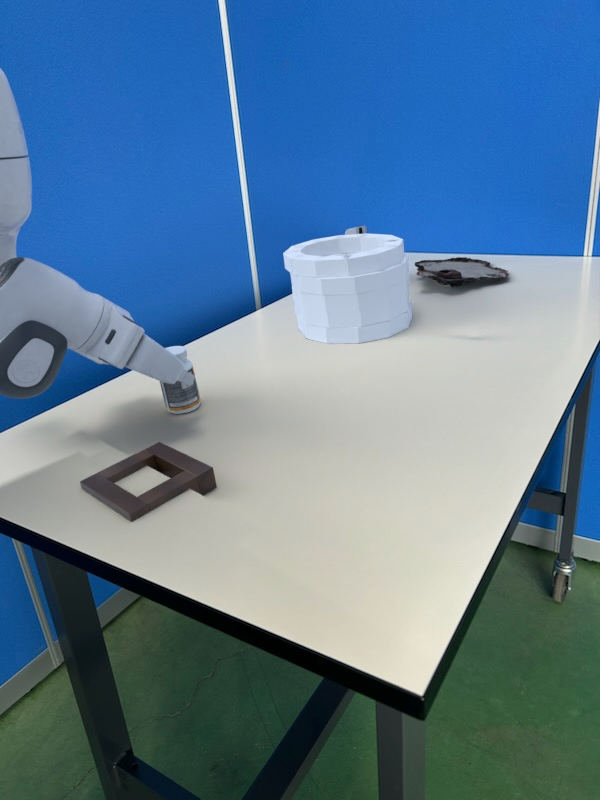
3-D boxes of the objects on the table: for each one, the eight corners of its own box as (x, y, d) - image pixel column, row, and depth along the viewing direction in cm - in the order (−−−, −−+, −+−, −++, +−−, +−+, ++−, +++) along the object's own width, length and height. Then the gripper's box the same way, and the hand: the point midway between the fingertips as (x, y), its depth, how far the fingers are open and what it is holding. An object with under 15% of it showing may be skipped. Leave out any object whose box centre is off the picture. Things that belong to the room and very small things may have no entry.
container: (271, 332, 132) (260, 256, 125) (342, 301, 146) (336, 231, 139) (363, 351, 115) (357, 265, 108) (434, 314, 130) (432, 236, 123)
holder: (135, 535, 71) (129, 514, 70) (85, 501, 79) (79, 481, 78) (217, 487, 78) (213, 467, 77) (164, 460, 86) (159, 441, 85)
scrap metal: (428, 264, 169) (397, 288, 144) (430, 249, 167) (399, 271, 142) (514, 276, 161) (498, 304, 136) (517, 261, 159) (502, 286, 134)
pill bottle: (208, 403, 102) (197, 346, 98) (182, 418, 98) (169, 359, 94) (184, 397, 105) (173, 342, 101) (159, 411, 101) (145, 354, 97)
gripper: (71, 336, 98) (143, 373, 107) (116, 368, 83) (196, 408, 91) (91, 301, 99) (161, 341, 107) (140, 326, 83) (217, 371, 92)
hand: (178, 372), depth 99 cm, fingers open, 8 cm apart
